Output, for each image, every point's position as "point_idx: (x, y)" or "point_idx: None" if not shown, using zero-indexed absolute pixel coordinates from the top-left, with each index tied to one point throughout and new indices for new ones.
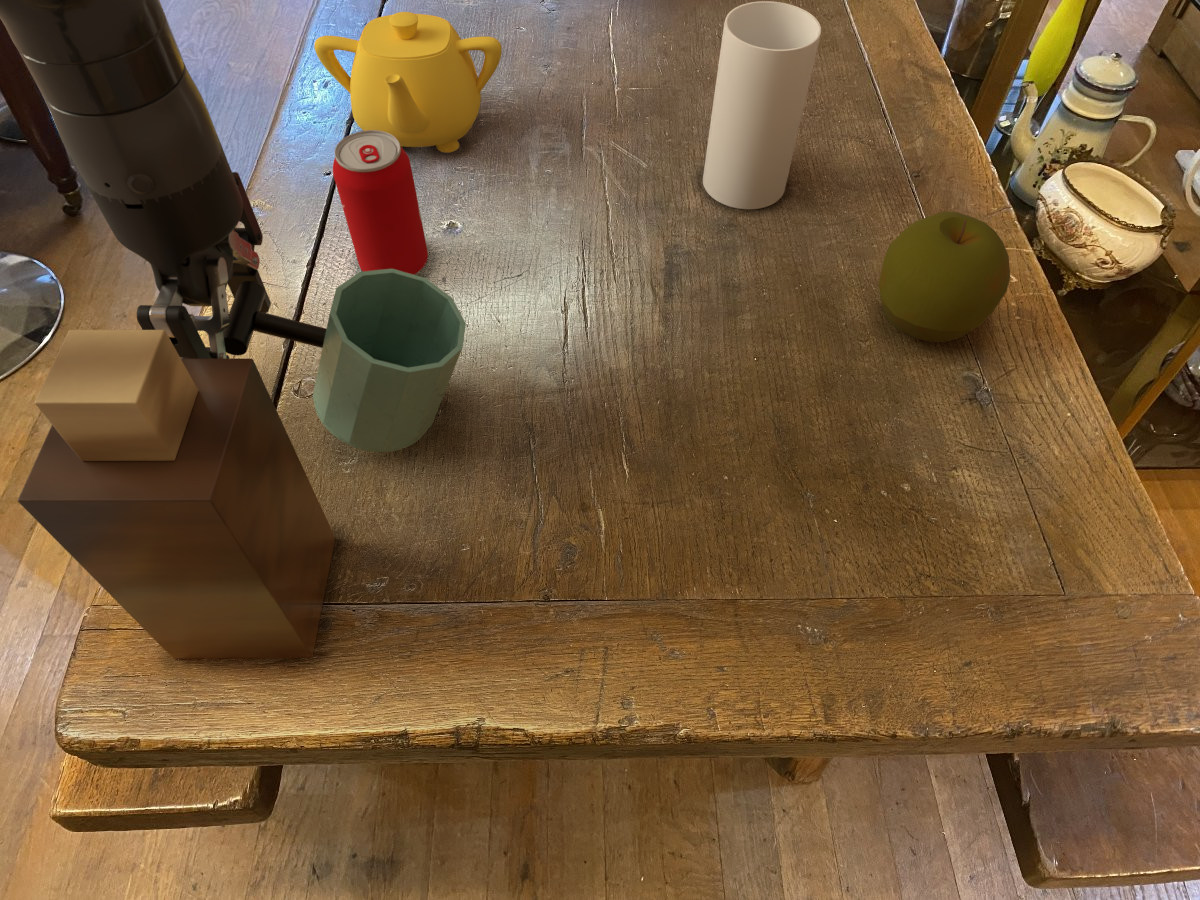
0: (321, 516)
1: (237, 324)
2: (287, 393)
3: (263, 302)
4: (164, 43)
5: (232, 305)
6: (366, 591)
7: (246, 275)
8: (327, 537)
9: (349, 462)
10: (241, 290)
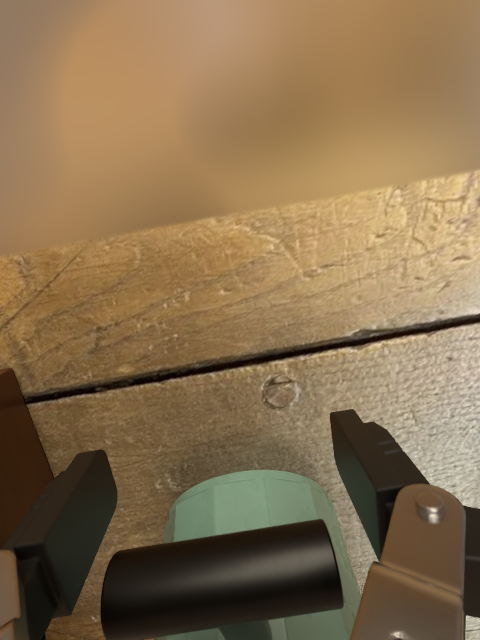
0: None
1: (160, 633)
2: (266, 371)
3: (345, 482)
4: None
5: (240, 581)
6: None
7: (381, 547)
8: None
9: (171, 483)
10: (300, 593)
